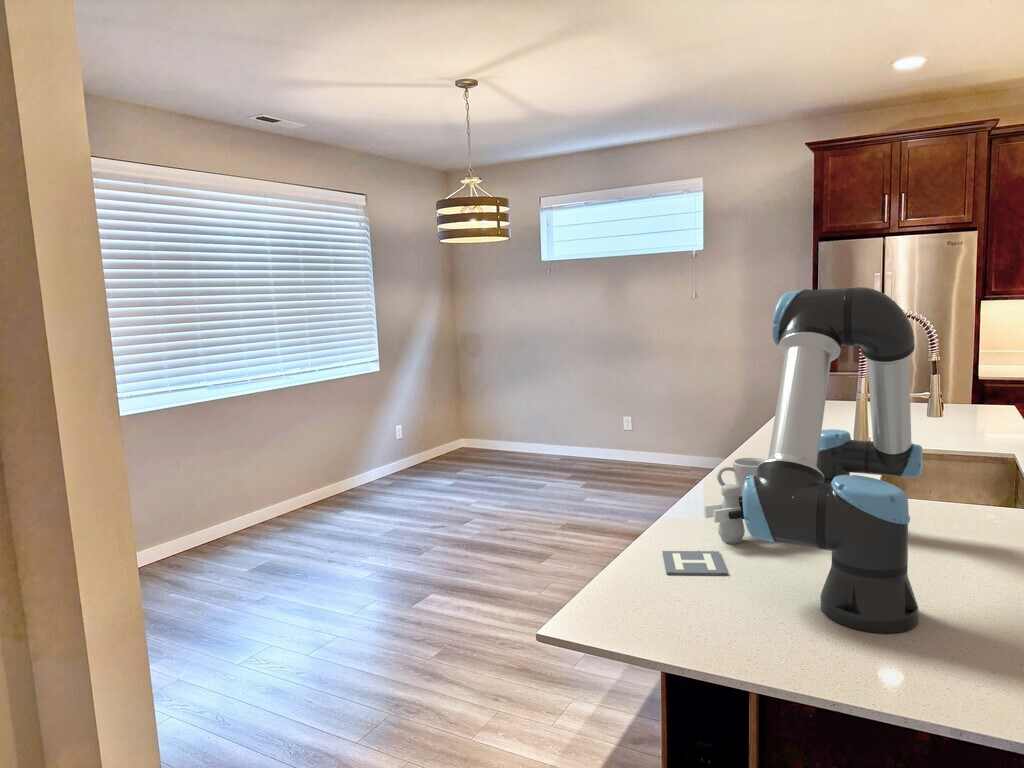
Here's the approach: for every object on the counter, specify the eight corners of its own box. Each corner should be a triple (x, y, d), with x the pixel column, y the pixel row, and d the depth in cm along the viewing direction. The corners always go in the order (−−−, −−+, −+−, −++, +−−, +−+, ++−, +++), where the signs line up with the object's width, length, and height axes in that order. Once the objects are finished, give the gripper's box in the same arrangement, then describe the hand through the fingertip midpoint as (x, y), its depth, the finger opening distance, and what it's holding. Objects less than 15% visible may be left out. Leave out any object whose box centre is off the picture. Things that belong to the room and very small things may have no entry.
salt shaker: (727, 546, 155) (726, 490, 153) (713, 538, 160) (712, 483, 159) (750, 543, 156) (749, 486, 155) (735, 535, 162) (735, 480, 160)
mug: (778, 502, 185) (778, 465, 184) (722, 504, 186) (722, 467, 184) (765, 491, 196) (765, 456, 194) (712, 493, 196) (711, 458, 195)
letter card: (727, 575, 139) (727, 572, 139) (666, 574, 141) (666, 572, 141) (718, 553, 151) (718, 551, 151) (662, 553, 153) (662, 550, 153)
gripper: (822, 526, 155) (731, 541, 149) (775, 507, 171) (691, 520, 164) (822, 494, 154) (730, 507, 148) (775, 477, 170) (690, 489, 163)
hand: (710, 514), depth 156 cm, fingers closed on salt shaker, 3 cm apart
